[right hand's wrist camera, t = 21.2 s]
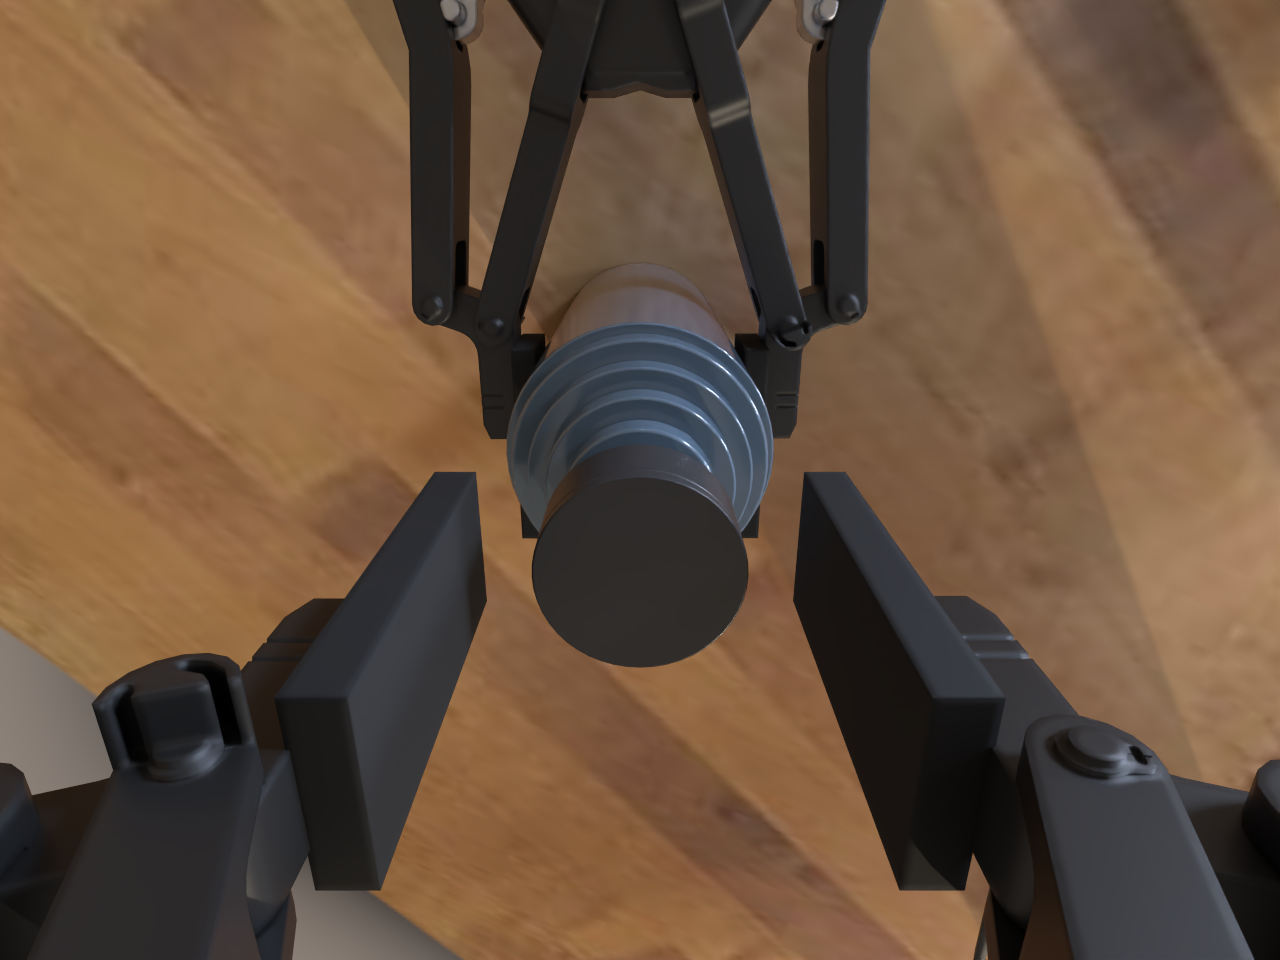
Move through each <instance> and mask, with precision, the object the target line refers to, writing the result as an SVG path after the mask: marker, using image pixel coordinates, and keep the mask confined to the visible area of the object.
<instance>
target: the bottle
mask: <svg viewBox="0 0 1280 960" xmlns="http://www.w3.org/2000/svg"><path fill="white" fill-rule="evenodd" d="M636 444H643V445H655V446H661V447H666V448H669V449H672V450H676V451H679V452H681V453H683V454H685V455H687V456H689V457H691V458H693V459H694V460H696V461H698V462H699V463H701V464H702V465H703V466H704V467H706V468H707V469H708V470H709V471H710V472H711V473H712V474H713V475H714V476H715V477H716V478H717V479H718V480H719V481H720V483H721V484H722V486H723V487H724V489H725V490H726V492H727V494H728V496H729V498H730V500H731V502H732V505H733V508H734V511H735V514H736V518H737V521H738V525H739V528H740V532H742V531H743V530H744V528H745V527H746V526H747V524H748V523H749V521H750V520H751V518H752V516H753V515H754V513H755V511H756V509H757V508H758V506H759V504H760V502H761V500H762V498H763V495H764V493H765V491H766V488H767V485H768V482H769V478H770V475H771V469H772V462H773V434H772V426H771V422H770V418H769V414H768V411H767V408H766V405H765V403H764V401H763V398H762V396H761V394H760V392H759V390H758V388H757V386H756V385H755V383H754V381H753V379H752V378H751V376H750V374H749V372H748V371H747V369H746V367H745V366H744V364H743V362H742V360H741V359H740V357H739V355H738V353H737V352H736V350H735V348H734V346H733V345H732V343H731V341H730V339H729V338H728V336H727V334H726V332H725V331H724V329H723V327H722V325H721V324H720V322H719V320H718V319H717V317H716V315H715V313H714V312H713V310H712V308H711V306H710V305H709V303H708V301H707V300H706V298H705V296H704V295H703V294H702V293H701V291H700V290H699V289H698V288H697V287H696V286H695V285H694V284H693V283H692V282H691V281H690V280H688V279H687V278H685V277H684V276H683V275H681V274H679V273H677V272H675V271H673V270H671V269H669V268H666V267H663V266H659V265H655V264H647V263H632V264H626V265H621V266H617V267H614V268H611V269H609V270H607V271H605V272H603V273H601V274H599V275H598V276H596V277H595V278H593V279H592V280H591V281H590V282H588V283H587V284H586V285H585V286H584V287H583V288H582V289H581V290H580V292H579V293H578V294H577V295H576V297H575V298H574V300H573V302H572V303H571V305H570V306H569V308H568V310H567V312H566V313H565V315H564V317H563V319H562V320H561V322H560V324H559V326H558V327H557V329H556V331H555V333H554V334H553V336H552V338H551V340H550V341H549V343H548V345H547V346H546V348H545V350H544V352H543V353H542V355H541V357H540V359H539V360H538V362H537V364H536V366H535V367H534V369H533V371H532V373H531V374H530V376H529V378H528V380H527V381H526V383H525V385H524V386H523V388H522V390H521V392H520V394H519V396H518V399H517V401H516V403H515V405H514V408H513V412H512V415H511V418H510V422H509V428H508V434H507V461H508V469H509V474H510V477H511V481H512V485H513V488H514V490H515V493H516V495H517V498H518V500H519V502H520V504H521V506H522V507H523V509H524V511H525V513H526V514H527V516H528V518H529V519H530V521H531V523H532V524H533V525H534V527H535V528H536V529H537V531H538V532H540V529H541V525H542V522H543V518H544V515H545V512H546V508H547V505H548V502H549V500H550V498H551V496H552V494H553V492H554V490H555V489H556V487H557V486H558V484H559V483H560V482H561V480H562V479H563V478H564V477H565V476H566V475H567V474H568V473H569V472H570V471H571V470H572V469H573V468H574V467H576V466H577V465H578V464H579V463H581V462H583V461H584V460H586V459H587V458H589V457H591V456H593V455H595V454H597V453H599V452H602V451H605V450H608V449H611V448H614V447H619V446H624V445H636Z"/></svg>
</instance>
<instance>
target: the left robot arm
mask: <svg viewBox="0 0 1280 960" xmlns="http://www.w3.org/2000/svg"><path fill="white" fill-rule="evenodd" d="M485 1H486V0H393V3H394V6H395V9H396V12H397V15H398V18H399V21H400V24H401V27H402V30H403V33H404V37H405V40H406V43H407V46H408V49H409V91H410V169H411V248H412V306H413V310H414V313H415V315H416V316H417V318H418V319H419V320H421V321H422V322H423V323H425V324H428V325H431V326H434V325H442V326H444V327H447V328H450V329H453V330H456V331H459V332H461V333H463V334H465V335H466V336H468V337H469V338H470V339H471V340H472V341H473V343H474V344H475V346H476V348H477V352H478V359H479V372H480V384H481V394H482V406H483V422H484V426H485V428H486V430H487V432H488V434H489V436H490V438H491V439H507V434H508V428H509V422H510V418H511V415H512V412H513V408H514V405H515V403H516V401H517V399H518V396H519V394H520V392H521V390H522V388H523V386H524V385H525V383H526V381H527V380H528V378H529V376H530V374H531V373H532V371H533V369H534V367H535V366H536V364H537V362H538V360H539V359H540V357H541V355H542V353H543V352H544V350H545V334H523V335H522V336H521V324H522V322H523V320H524V318H525V317H523V316H524V312H525V309H526V305H527V302H528V298H529V295H530V292H531V288H532V285H533V281H534V278H535V274H536V271H537V267H538V264H539V261H540V257H541V254H542V250H543V247H544V243H545V240H546V236H547V233H548V230H549V226H550V223H551V219H552V216H553V212H554V209H555V205H556V202H557V199H558V195H559V192H560V188H561V185H562V181H563V178H564V175H565V171H566V168H567V164H568V161H569V157H570V154H571V150H572V147H573V144H574V140H575V137H576V134H577V131H578V129H579V127H580V124H581V121H582V118H583V114H584V111H585V108H586V104H587V101H588V97H589V98H615V97H619V96H622V95H625V94H629V93H632V92H635V91H644V92H648V93H651V94H654V95H658V96H661V97H664V98H692V102H693V105H694V109H695V112H696V115H697V119H698V122H699V124H700V127H701V129H702V132H703V134H704V138H705V141H706V144H707V148H708V151H709V154H710V158H711V161H712V165H713V168H714V172H715V175H716V178H717V182H718V185H719V189H720V192H721V195H722V199H723V202H724V206H725V209H726V212H727V216H728V219H729V223H730V226H731V230H732V233H733V236H734V240H735V243H736V247H737V250H738V253H739V257H740V260H741V264H742V267H743V270H744V274H745V277H746V281H747V284H748V288H749V291H750V294H751V298H752V301H753V305H754V308H755V311H756V315H757V318H758V321H759V335H758V334H735V350H736V352H737V353H738V355H739V357H740V359H741V360H742V362H743V364H744V366H745V367H746V369H747V371H748V372H749V374H750V376H751V378H752V379H753V381H754V383H755V385H756V386H757V388H758V390H759V392H760V394H761V396H762V398H763V401H764V403H765V405H766V408H767V411H768V414H769V418H770V422H771V426H772V434H773V438H790V436H791V434H792V432H793V430H794V428H795V426H796V421H797V406H798V394H799V382H800V370H801V357H802V351H803V347H804V346H805V345H806V344H807V343H808V342H809V340H810V338H811V336H813V335H814V334H816V333H818V332H820V331H822V330H825V329H828V328H831V327H833V326H836V325H839V324H843V325H849V324H853V323H856V322H857V321H858V320H860V319H861V318H862V316H863V315H864V313H865V312H866V308H867V298H868V204H869V110H870V49H871V46H872V43H873V40H874V37H875V33H876V30H877V27H878V24H879V21H880V18H881V15H882V12H883V9H884V5H885V2H886V0H794V2H795V6H796V27H797V31H798V33H799V35H800V37H801V38H802V39H803V40H804V41H806V42H808V43H810V44H813V46H812V50H811V57H810V64H809V78H808V103H809V166H810V228H811V286H809V287H806V288H803V289H800V290H798V286H797V282H796V278H795V275H794V271H793V267H792V264H791V260H790V256H789V252H788V249H787V245H786V241H785V238H784V234H783V230H782V227H781V223H780V219H779V215H778V212H777V208H776V204H775V201H774V197H773V193H772V189H771V186H770V182H769V178H768V175H767V171H766V167H765V163H764V160H763V156H762V152H761V149H760V145H759V141H758V138H757V134H756V130H755V126H754V123H753V119H752V115H751V109H750V99H749V94H748V90H747V86H746V82H745V78H744V75H743V71H742V67H741V63H740V60H739V56H738V52H737V51H738V49H739V48H740V46H741V45H742V43H743V42H744V41H745V39H746V38H747V36H748V35H749V33H750V32H751V30H752V29H753V27H754V26H755V24H756V23H757V21H758V20H759V18H760V17H761V15H762V14H763V12H764V11H765V9H766V8H767V6H768V5H769V4H770V2H771V1H772V0H508V2H509V3H510V5H511V6H512V8H513V9H514V11H515V12H516V14H517V15H518V16H519V18H520V19H521V21H522V22H523V24H524V25H525V27H526V28H527V30H528V31H529V33H530V34H531V36H532V37H533V39H534V40H535V42H536V43H537V44H538V46H539V47H540V49H541V50H542V54H541V58H540V62H539V66H538V69H537V73H536V77H535V81H534V84H533V88H532V92H531V97H530V103H529V113H528V118H527V122H526V125H525V129H524V133H523V137H522V140H521V144H520V148H519V152H518V155H517V159H516V163H515V167H514V170H513V174H512V178H511V182H510V185H509V189H508V193H507V197H506V200H505V204H504V208H503V212H502V215H501V219H500V223H499V227H498V230H497V234H496V238H495V241H494V245H493V249H492V253H491V256H490V260H489V264H488V268H487V271H486V275H485V279H484V283H483V286H482V290H478V289H475V288H473V287H470V286H468V274H469V202H470V131H471V69H470V62H469V55H468V49H467V45H466V44H470V43H472V42H474V41H475V40H476V39H477V38H478V37H479V36H480V34H481V32H482V29H483V7H484V3H485ZM520 506H521V504H520ZM759 512H760V504H759V506H758V508H757V509H756V511H755V513H754V515H753V516H752V518H751V520H750V521H749V523H748V524H747V526H746V527H745V528H744V530H743V531H742V532H741V535H742V538H758V528H759ZM521 522H522V538H538V536H539V532H538V531H537V529H536V528H535V527H534V525H533V524H532V523H531V521H530V519H529V518H528V516H527V514H526V513H525V511H524V509H523V507H522V506H521Z"/></svg>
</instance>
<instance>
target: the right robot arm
mask: <svg viewBox="0 0 1280 960" xmlns="http://www.w3.org/2000/svg"><path fill="white" fill-rule="evenodd" d="M486 602H487V597H486V585H485V574H484V562H483V550H482V539H481V527H480V515H479V503H478V492H477V480H476V472H434V474H433V475H432V477H431V478H430V479H429V481H428V482H427V484H426V485H425V487H424V488H423V489H422V491H421V492H420V494H419V495H418V496H417V498H416V499H415V501H414V502H413V503H412V505H411V506H410V508H409V509H408V510H407V512H406V513H405V515H404V516H403V517H402V519H401V520H400V522H399V523H398V524H397V526H396V527H395V529H394V530H393V531H392V533H391V534H390V536H389V537H388V538H387V540H386V541H385V543H384V544H383V545H382V547H381V548H380V550H379V551H378V552H377V554H376V555H375V557H374V558H373V559H372V561H371V562H370V564H369V565H368V566H367V568H366V569H365V571H364V572H363V574H362V575H361V576H360V578H359V579H358V581H357V582H356V583H355V585H354V586H353V588H352V589H351V590H350V592H349V593H348V595H347V596H346V597H345V599H312V600H311V601H309V602H308V603H306V604H305V605H303V606H301V607H300V608H298V609H297V610H295V611H294V612H292V613H291V614H289V615H287V616H286V617H285V618H284V619H283V620H282V621H281V622H280V624H279V625H278V626H277V627H276V629H275V630H274V631H273V632H272V633H271V635H270V636H269V637H268V638H267V643H263V644H262V646H261V647H260V648H259V649H258V650H257V652H256V653H255V654H254V655H253V657H252V661H248V663H247V664H246V665H245V666H244V668H243V669H242V670H241V671H240V667H239V665H238V664H236V663H235V662H234V661H232V660H231V659H230V658H229V657H226V656H221V655H216V654H211V653H200V654H184V655H179V656H175V657H171V658H167V659H163V660H159V661H155V662H153V663H150V664H148V665H146V666H143V667H141V668H139V669H136V670H134V671H131V672H129V673H127V674H126V675H124V676H123V677H121V678H120V679H118V680H117V681H115V682H114V683H112V684H111V685H109V686H108V687H106V688H105V689H104V690H103V691H102V693H101V694H100V695H99V696H98V697H97V698H96V700H95V701H94V702H93V703H92V706H93V709H94V712H95V716H96V719H97V722H98V725H99V728H100V731H101V734H102V737H103V740H104V743H105V746H106V750H107V753H108V756H109V759H110V762H111V765H112V768H113V772H112V774H111V776H110V778H107V779H104V780H100V781H96V782H92V783H87V784H83V785H78V786H73V787H68V788H64V789H59V790H55V791H50V792H45V793H41V794H36V795H32V794H31V792H30V789H29V786H28V784H27V781H26V778H25V776H24V773H23V772H21V771H20V770H19V769H17V768H16V767H15V766H13V765H12V764H7V763H0V960H292V955H293V946H294V938H295V929H296V921H297V920H296V913H295V905H294V900H293V896H292V892H291V888H292V886H293V884H294V882H295V880H296V878H297V876H298V874H299V872H300V870H301V868H302V866H303V864H304V862H305V860H306V857H307V855H308V858H309V863H310V867H311V872H312V877H313V881H314V886H315V890H381V887H382V885H383V882H384V879H385V876H386V874H387V871H388V868H389V865H390V863H391V860H392V857H393V855H394V852H395V849H396V846H397V844H398V841H399V838H400V836H401V833H402V830H403V827H404V825H405V822H406V819H407V817H408V814H409V811H410V808H411V806H412V803H413V800H414V797H415V795H416V792H417V789H418V787H419V784H420V781H421V778H422V776H423V773H424V770H425V768H426V765H427V762H428V759H429V757H430V754H431V751H432V749H433V746H434V743H435V740H436V738H437V735H438V732H439V729H440V727H441V724H442V721H443V719H444V716H445V713H446V710H447V708H448V705H449V702H450V700H451V697H452V694H453V691H454V689H455V686H456V683H457V681H458V678H459V675H460V672H461V670H462V667H463V664H464V661H465V659H466V656H467V653H468V651H469V648H470V645H471V642H472V640H473V637H474V634H475V632H476V629H477V626H478V623H479V621H480V618H481V615H482V613H483V610H484V607H485V604H486ZM793 602H794V604H795V607H796V610H797V613H798V615H799V618H800V621H801V623H802V626H803V629H804V632H805V634H806V637H807V640H808V642H809V645H810V648H811V651H812V653H813V656H814V659H815V661H816V664H817V667H818V670H819V672H820V675H821V678H822V681H823V683H824V686H825V689H826V691H827V694H828V697H829V700H830V702H831V705H832V708H833V710H834V713H835V716H836V719H837V721H838V724H839V727H840V729H841V732H842V735H843V738H844V740H845V743H846V746H847V749H848V751H849V754H850V757H851V759H852V762H853V765H854V768H855V770H856V773H857V776H858V778H859V781H860V784H861V787H862V789H863V792H864V795H865V797H866V800H867V803H868V806H869V808H870V811H871V814H872V817H873V819H874V822H875V825H876V827H877V830H878V833H879V836H880V838H881V841H882V844H883V846H884V849H885V852H886V855H887V857H888V860H889V863H890V865H891V868H892V871H893V874H894V876H895V879H896V882H897V885H898V887H899V890H965V886H966V881H967V877H968V872H969V867H970V863H971V858H972V854H974V856H975V858H976V860H977V862H978V864H979V866H980V868H981V870H982V872H983V874H984V876H985V878H986V880H987V882H988V884H989V886H990V887H989V892H988V896H987V900H986V905H985V909H984V913H983V918H982V922H981V926H980V931H979V935H978V939H977V943H976V948H975V953H974V960H986V956H987V953H988V960H1280V760H1270V761H1269V762H1267V763H1266V764H1265V765H1263V766H1262V767H1261V768H1259V769H1258V771H1257V773H1256V776H1255V778H1254V781H1253V784H1252V786H1251V789H1250V792H1246V791H1241V790H1237V789H1232V788H1227V787H1223V786H1218V785H1213V784H1209V783H1204V782H1199V781H1195V780H1190V779H1185V778H1181V777H1178V776H1174V775H1171V774H1169V773H1168V770H1167V769H1166V767H1165V766H1164V765H1163V763H1162V762H1161V761H1160V759H1159V758H1158V757H1157V755H1156V754H1155V753H1154V752H1153V751H1152V750H1151V749H1150V748H1148V747H1147V746H1146V745H1144V744H1143V743H1142V742H1140V741H1139V740H1138V739H1136V738H1135V737H1134V736H1132V735H1130V734H1128V733H1126V732H1124V731H1122V730H1120V729H1118V728H1116V727H1114V726H1112V725H1110V724H1107V723H1104V722H1101V721H1097V720H1093V719H1090V718H1086V717H1083V716H1079V715H1078V714H1077V712H1076V711H1075V710H1074V709H1073V708H1072V706H1071V705H1070V704H1069V703H1068V702H1067V700H1066V699H1065V698H1064V697H1063V696H1062V694H1061V693H1060V692H1059V691H1058V689H1057V688H1056V687H1055V686H1054V685H1053V683H1052V682H1051V681H1050V680H1049V679H1048V677H1047V676H1046V675H1045V674H1044V673H1043V671H1042V670H1041V669H1040V668H1039V666H1038V665H1037V664H1036V663H1035V662H1034V660H1033V659H1029V658H1028V653H1027V652H1026V651H1025V650H1024V648H1023V647H1022V646H1021V645H1020V643H1019V642H1018V641H1017V640H1014V639H1013V635H1012V634H1011V633H1010V631H1009V630H1008V629H1007V628H1006V627H1005V625H1004V624H1003V623H1002V622H1001V620H1000V619H999V618H998V617H997V616H996V615H995V614H994V613H992V612H991V611H989V610H988V609H986V608H984V607H983V606H981V605H980V604H978V603H977V602H975V601H973V600H972V599H970V598H969V597H967V596H933V595H932V593H931V592H930V590H929V589H928V588H927V586H926V585H925V583H924V582H923V581H922V579H921V578H920V576H919V575H918V574H917V572H916V571H915V569H914V568H913V566H912V565H911V564H910V562H909V561H908V559H907V558H906V557H905V555H904V554H903V552H902V551H901V550H900V548H899V547H898V545H897V544H896V543H895V541H894V540H893V538H892V537H891V536H890V534H889V533H888V531H887V530H886V529H885V527H884V526H883V524H882V523H881V522H880V520H879V519H878V517H877V516H876V515H875V513H874V512H873V510H872V509H871V508H870V506H869V505H868V503H867V502H866V501H865V499H864V498H863V496H862V495H861V494H860V492H859V491H858V489H857V488H856V487H855V485H854V484H853V482H852V481H851V479H850V478H849V477H848V475H847V474H846V472H804V480H803V492H802V503H801V515H800V527H799V539H798V550H797V562H796V574H795V585H794V597H793Z"/></svg>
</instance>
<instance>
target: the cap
mask: <svg viewBox="0 0 1280 960" xmlns="http://www.w3.org/2000/svg"><path fill="white" fill-rule="evenodd" d="M532 582H533V589H534V592H535V596H536V599H537V602H538V604H539V607H540V609H541V611H542V613H543V615H544V616H545V618H546V619H547V621H548V622H549V624H550V625H551V626H552V628H553V629H554V630H555V631H556V632H557V634H559V635H560V636H561V637H562V638H563V639H564V640H565V641H566V642H567V643H569V644H570V645H571V646H573V647H574V648H576V649H577V650H579V651H581V652H582V653H584V654H586V655H588V656H590V657H592V658H595V659H597V660H600V661H603V662H606V663H610V664H613V665H619V666H625V667H655V666H661V665H667V664H670V663H674V662H677V661H681V660H683V659H685V658H688V657H690V656H692V655H694V654H696V653H698V652H700V651H701V650H703V649H705V648H706V647H707V646H709V645H710V644H711V643H713V642H714V641H715V640H716V639H717V638H718V637H719V636H720V635H721V634H723V633H724V631H725V630H726V629H727V628H728V626H729V625H730V624H731V623H732V621H733V620H734V618H735V616H736V615H737V613H738V611H739V609H740V607H741V604H742V602H743V600H744V596H745V593H746V589H747V582H748V560H747V554H746V549H745V546H744V542H743V539H742V535H741V532H740V528H739V525H738V521H737V518H736V514H735V511H734V508H733V505H732V502H731V500H730V498H729V496H728V494H727V492H726V490H725V489H724V487H723V486H722V484H721V483H720V481H719V480H718V479H717V478H716V477H715V476H714V475H713V474H712V473H711V472H710V471H709V470H708V469H707V468H706V467H704V466H703V465H702V464H701V463H699V462H698V461H696V460H694V459H693V458H691V457H689V456H687V455H685V454H683V453H681V452H679V451H676V450H672V449H669V448H666V447H661V446H655V445H643V444H636V445H624V446H619V447H614V448H611V449H608V450H605V451H602V452H599V453H597V454H595V455H593V456H591V457H589V458H587V459H586V460H584V461H583V462H581V463H579V464H578V465H577V466H576V467H574V468H573V469H572V470H571V471H570V472H569V473H568V474H567V475H566V476H565V477H564V478H563V479H562V480H561V482H560V483H559V484H558V486H557V487H556V489H555V490H554V492H553V494H552V496H551V498H550V500H549V502H548V505H547V508H546V512H545V515H544V518H543V522H542V525H541V529H540V532H539V536H538V539H537V543H536V546H535V550H534V554H533V560H532Z"/></svg>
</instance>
